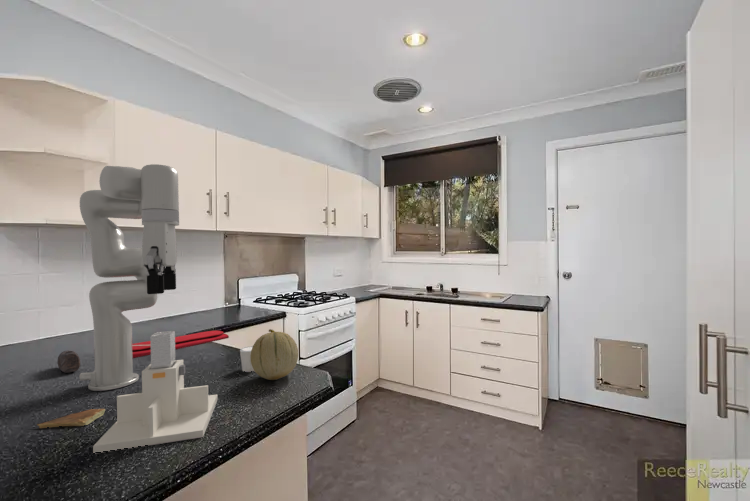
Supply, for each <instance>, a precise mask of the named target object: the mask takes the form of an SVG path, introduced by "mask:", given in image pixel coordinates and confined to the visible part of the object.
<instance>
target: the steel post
mask: <svg viewBox="0 0 750 501" xmlns="http://www.w3.org/2000/svg"><path fill="white" fill-rule="evenodd" d="M175 337H176V331H175V330H169V331H156V332H154V333H153V334H151V335H150V338H149V339H150V341H151V355H150V364H151V369H160V368H170V367H173V366H174V365H175V364H176V363H175V360H176V349H175Z"/></svg>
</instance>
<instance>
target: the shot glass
mask: <svg viewBox="0 0 750 501" xmlns="http://www.w3.org/2000/svg"><path fill="white" fill-rule="evenodd" d="M252 347H253V345H252V346H245V347H242V348H240V349H239V353H240V354H239V355H240V362H241V371H242V372H244V371H245V372H246V373H251V371H252V372H255V371H254V369H253V367H252V365H251V358H250V357H251V356H250V355H251V350H252Z"/></svg>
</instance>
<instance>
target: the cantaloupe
mask: <svg viewBox="0 0 750 501" xmlns="http://www.w3.org/2000/svg"><path fill="white" fill-rule="evenodd" d="M252 346H253V347H252V350H251V355H250V356H251V357H250V358H251V365H252V367H253V369H254V371H253V372H255V374H257V375H258V376H259V377H261V378H263V379H266V380H267V381H269V380H270V381H277V380H279V379H281V378H284V377H286V376H288V375H289V374H290V373H292V372H293V371H294V369H295V367H296V366H297V363H298V360H299V348H298V345H297V343H296V341H295V339H293V337H292V336H291V335H290V334H288V333H286V332H283V331H275V330H274V329H271V328H270V329H268V332H267V333H264V334H262V335H261V336H259V337H257V339H256V340H255V342H254V344H253V345H252Z"/></svg>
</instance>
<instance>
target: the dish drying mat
mask: <svg viewBox="0 0 750 501" xmlns="http://www.w3.org/2000/svg"><path fill="white" fill-rule="evenodd" d="M229 338H230V335H228V334H226V333H224V331H222V330H209V331H208V330H207V331H201V332H196V333H191V334H190V333H189V334H185V335H178V336H175V350H179V349H184V348H189V347H193V346H198V345H199V346H200V345H203V344H208V343H212V342H216V341H221V340H227V339H229ZM132 354H133V359H136V358H139V357H145V356H151V340H148V341H141V342H136V343H132Z"/></svg>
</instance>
